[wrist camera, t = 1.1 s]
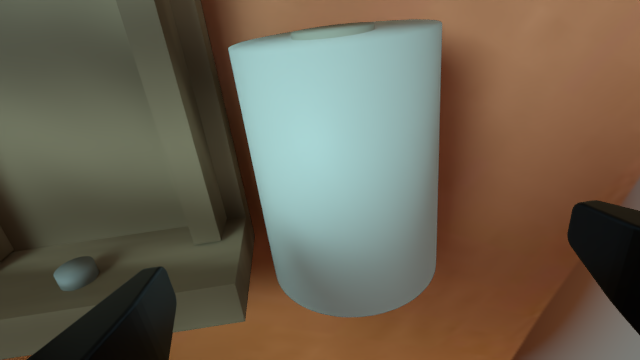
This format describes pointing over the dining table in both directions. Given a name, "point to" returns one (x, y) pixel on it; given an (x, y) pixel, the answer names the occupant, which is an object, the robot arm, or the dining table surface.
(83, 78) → the cradle
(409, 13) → the dining table surface
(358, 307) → the cylinder
